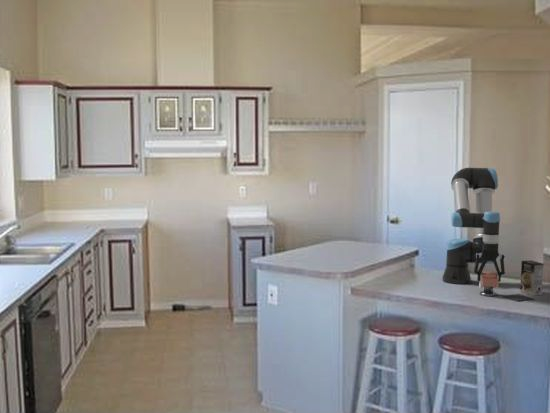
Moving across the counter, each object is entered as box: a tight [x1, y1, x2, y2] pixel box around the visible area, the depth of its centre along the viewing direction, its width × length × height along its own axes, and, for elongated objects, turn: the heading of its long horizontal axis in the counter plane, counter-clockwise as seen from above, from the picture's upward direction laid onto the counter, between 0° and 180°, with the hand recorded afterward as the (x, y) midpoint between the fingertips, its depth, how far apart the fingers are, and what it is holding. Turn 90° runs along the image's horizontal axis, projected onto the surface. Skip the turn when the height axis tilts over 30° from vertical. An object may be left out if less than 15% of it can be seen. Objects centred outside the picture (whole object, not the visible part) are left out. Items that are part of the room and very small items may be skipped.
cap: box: [481, 271, 499, 288], centre depth 322 cm, size 7×7×7 cm
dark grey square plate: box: [502, 293, 535, 302], centre depth 316 cm, size 10×10×1 cm
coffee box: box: [519, 260, 545, 296], centre depth 326 cm, size 9×6×16 cm
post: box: [479, 286, 498, 298], centre depth 322 cm, size 8×8×9 cm
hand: (488, 287), depth 322 cm, fingers closed on cap, 7 cm apart
